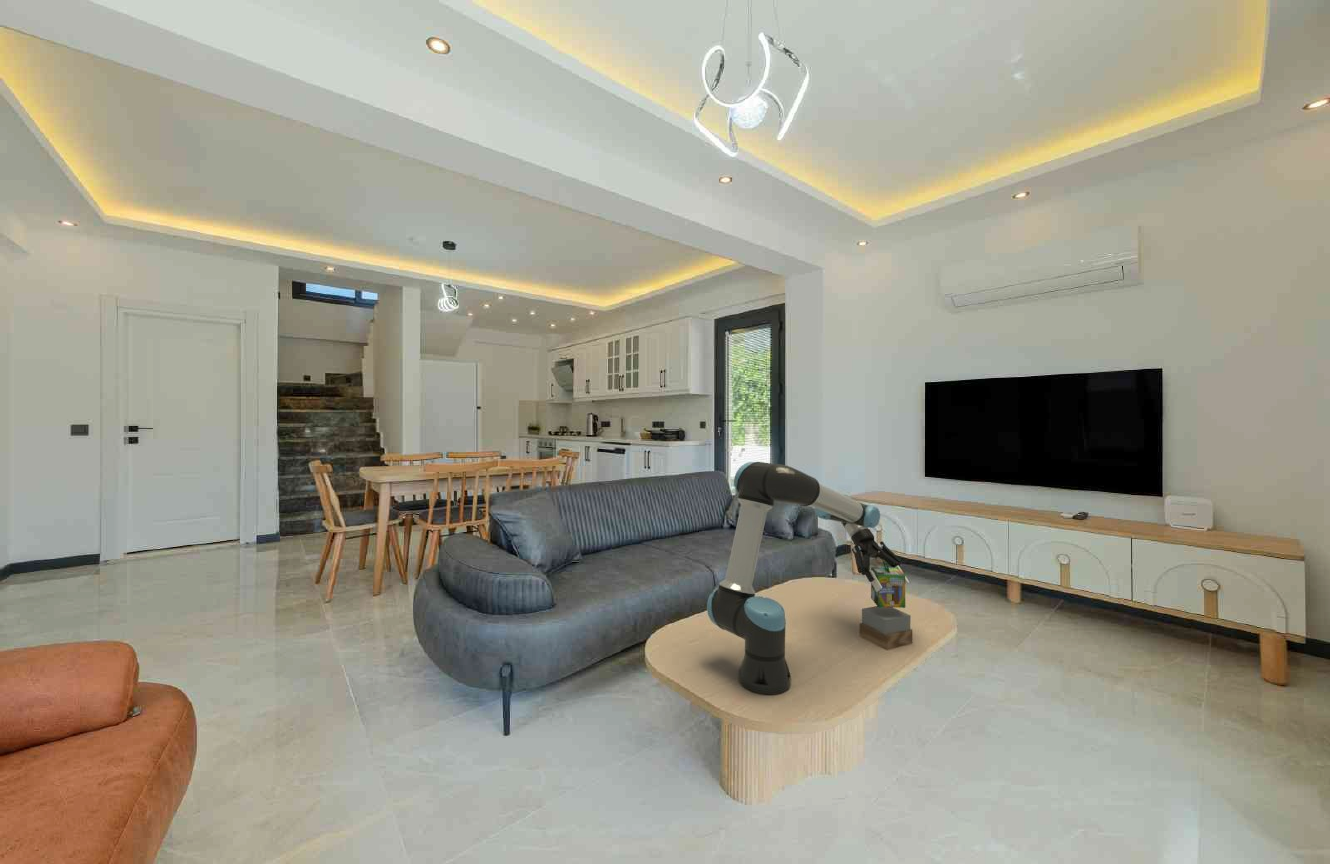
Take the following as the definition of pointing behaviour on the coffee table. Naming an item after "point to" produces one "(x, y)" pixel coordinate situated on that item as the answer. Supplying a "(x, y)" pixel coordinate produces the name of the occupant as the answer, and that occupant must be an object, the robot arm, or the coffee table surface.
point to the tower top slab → (886, 619)
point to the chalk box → (889, 587)
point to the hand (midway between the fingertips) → (893, 586)
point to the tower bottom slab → (885, 637)
